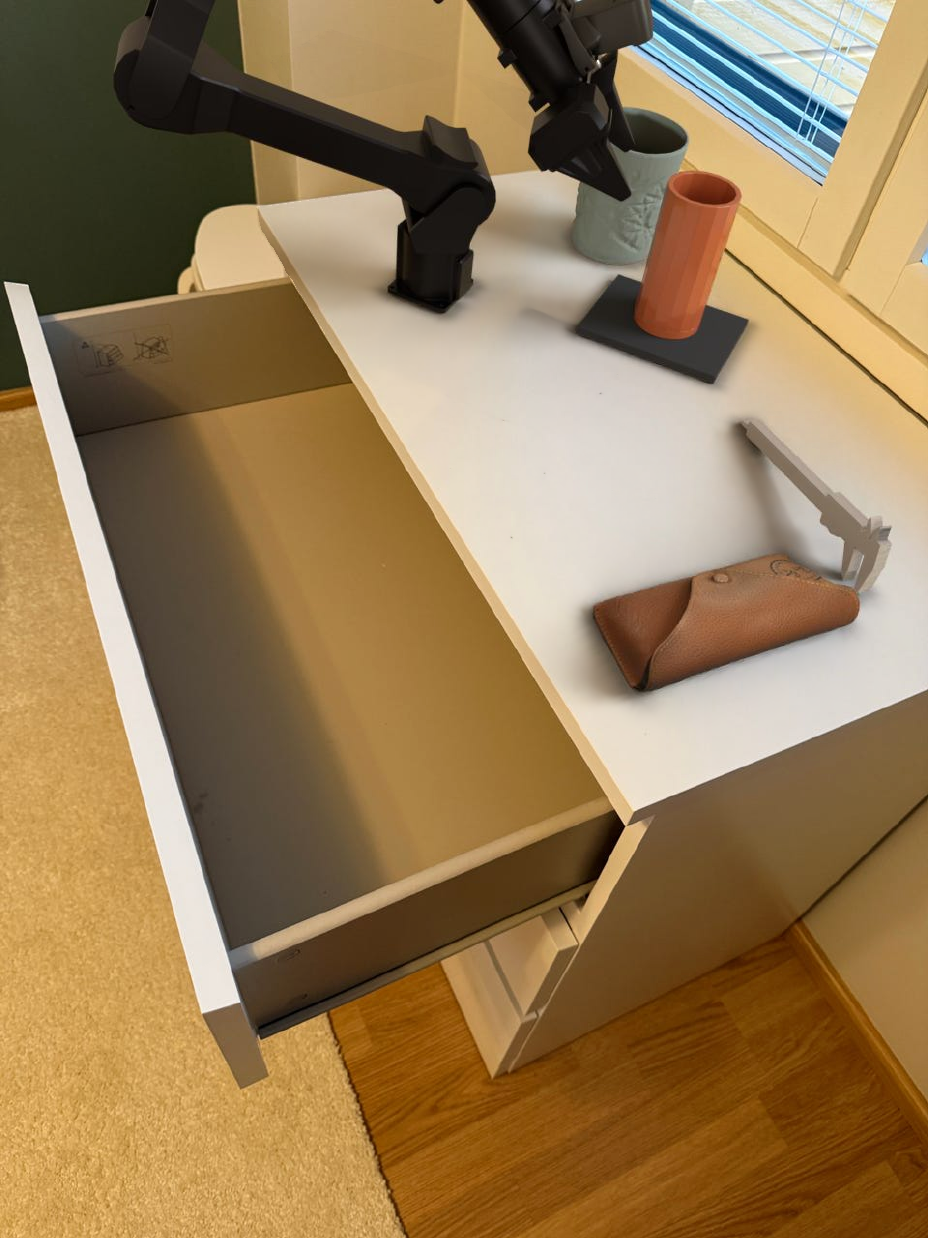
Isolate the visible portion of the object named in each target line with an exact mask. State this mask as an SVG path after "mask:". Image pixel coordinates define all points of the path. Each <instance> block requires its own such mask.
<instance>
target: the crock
mask: <svg viewBox="0 0 928 1238" xmlns="http://www.w3.org/2000/svg"><path fill="white" fill-rule="evenodd" d="M742 197H743V195H742V192H741V189H740V188H739V187H738V186H737V185H736V184H735V183H734V182H733V181H732V180H730V179H729V178H726V177H724V176H722V175H720V174H716V173H712V172H708V171H705V170H704V171H703V170H684V171H683V170H682V171H678V172H677V173H676V174H674V175H672V176H671V177H670V178H669V180H668V182H667V185H666V189H665V193H664V196H663V200H662V204H661V208H660V212H659V216H658V220H657V223H656V227H655V231H654V235H653V239H652V243H651V247H650V250H649V253H648V255H647V259H646V262H645V266H644V270H643V273H642V278H641V281H640V282H641V285H640V289H639V293H638V297H637V300H636V304H635V310H634V319H635V321H636V323H637V324H638V325H639V327H641V328H642V329H643V330H644V331H646V332H648V333H650V334H652V335H654V336H657V337H661V338H665V339H683V338H687V337H690V336H692V335H693V334H695V333H696V332H697V330H698V328H699V325H700V322H701V320H702V317H703V314H704V311H705V308H706V305H708V302H709V298H710V296H711V292H712V289H713V286H714V283H715V280H716V277H717V274H718V270H719V268H720V265H721V262H722V259H723V256H724V253H725V249H726V246H727V244H728V241H729V237H730V235H731V231H732V228H733V225H734V222H735V219H736V216H737V213H738V210H739V206H740V204H741V201H742Z"/></svg>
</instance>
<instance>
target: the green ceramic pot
mask: <svg viewBox="0 0 928 1238" xmlns="http://www.w3.org/2000/svg"><path fill="white" fill-rule="evenodd" d="M622 107H623V110H624V113H625V116H626V119H627V121H628V124H629V127H630V130H631V133H632V136H633V139H634V142H635V146H634V148H632V149H631V150H630V151H628V152H626V153H625V152H623V151H622V150H620V149H619V148H617V147H616V146H614V145H613V144H612V143H610V144H611V146H612V148H613V151H614V153H615V155H616V157H617V159H618V162H619V164H620V166H621V168H622V170H623V173H624V175H625V177H626V179H627V182H628V184H629V187H630V189H631V191H632V195H631V196H630V197H629V198H628V199H626V200H625V201H623V202H620V201H618V200H616V199H614V198H612V197H610V196H608V195H606V194H604V193H602V192H600V191H598V190H596V189H595V188H593V187H591V186H589V185H586V184H584V183H582V182H580V181H579V182H578V187H577V196H576V204H575V216H574V218H573V224H572V229H571V230H572V231H571V242H572V244H573V246H574V248H575V249H576V250H577V251H578V252H579V253H580V254H582V255H583V256H585V257H587V258H588V259H590V260H592V261H595V262H598V263H602V264H607V265H611V266H612V265H613V266H625V265H626V266H627V265H633V264H636V263H639V262H641V261H644V260H645V258H646V257H648V254H649V250H650V247H651V243H652V239H653V235H654V231H655V227H656V223H657V220H658V216H659V212H660V208H661V204H662V200H663V196H664V193H665V189H666V185H667V182H668V180H669V178H670V177H671V176H672V175H674V174H676V173H678V172H680V169H681V167H682V164H683V162H684V159H685V156H686V154H687V151H688V148H689V146H690V136H689V133H688V131H687V130H686V129H685V127H683V126H682V125H681V124H679V123H678V122H676V121H675V120H674V119H671V118H670V117H668V116H667V115H666V116H665V115H663V114H662V113H658V112H656V111H652V110H650V109H644V108H640V107H633V106H622Z"/></svg>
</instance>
